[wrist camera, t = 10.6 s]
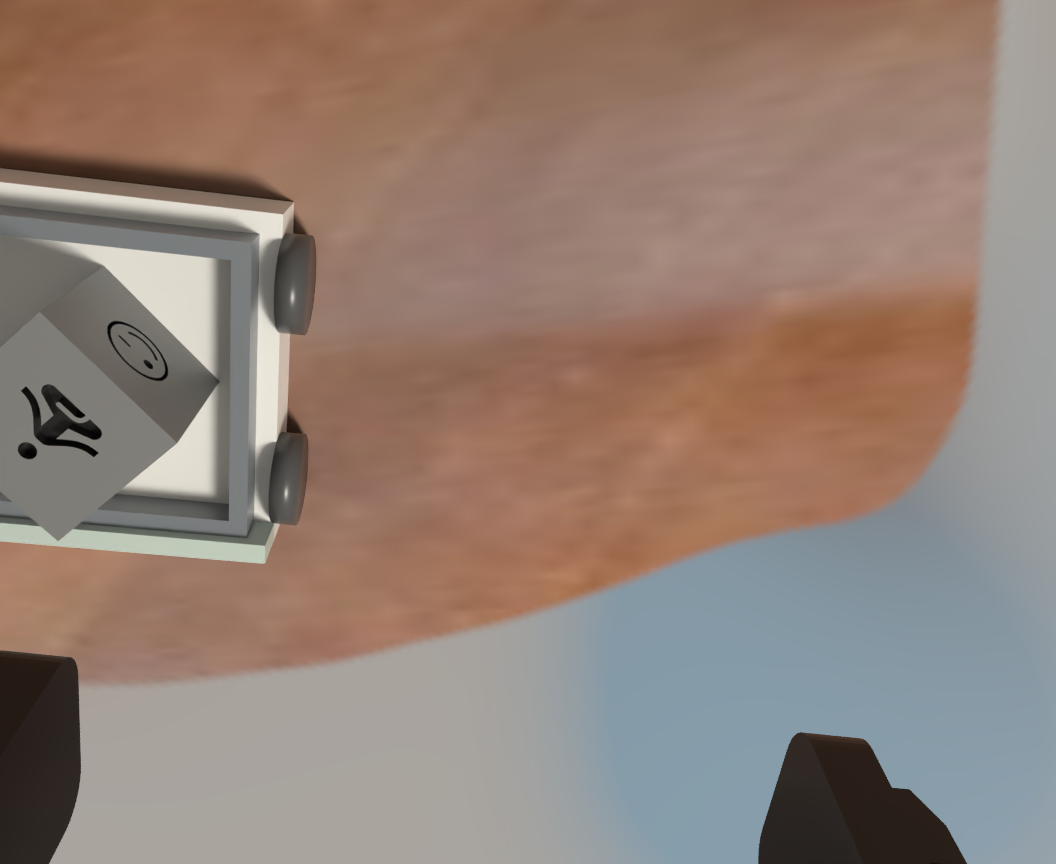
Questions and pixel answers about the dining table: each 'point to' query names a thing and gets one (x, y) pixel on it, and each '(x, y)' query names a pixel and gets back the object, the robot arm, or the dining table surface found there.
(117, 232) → the toy car chassis
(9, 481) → the dice cube
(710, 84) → the dining table surface
